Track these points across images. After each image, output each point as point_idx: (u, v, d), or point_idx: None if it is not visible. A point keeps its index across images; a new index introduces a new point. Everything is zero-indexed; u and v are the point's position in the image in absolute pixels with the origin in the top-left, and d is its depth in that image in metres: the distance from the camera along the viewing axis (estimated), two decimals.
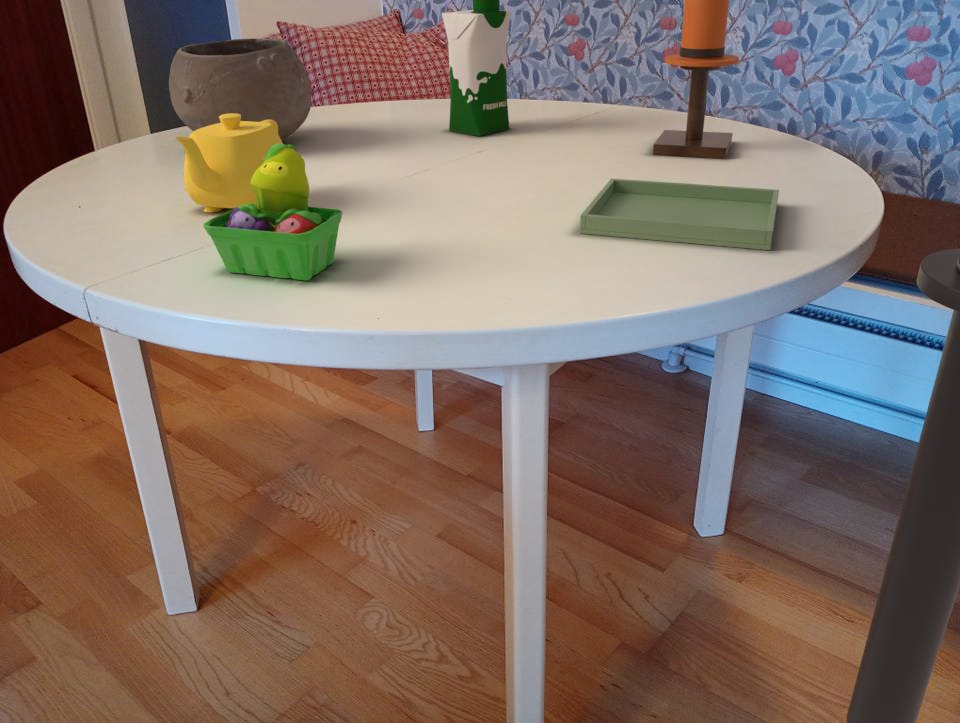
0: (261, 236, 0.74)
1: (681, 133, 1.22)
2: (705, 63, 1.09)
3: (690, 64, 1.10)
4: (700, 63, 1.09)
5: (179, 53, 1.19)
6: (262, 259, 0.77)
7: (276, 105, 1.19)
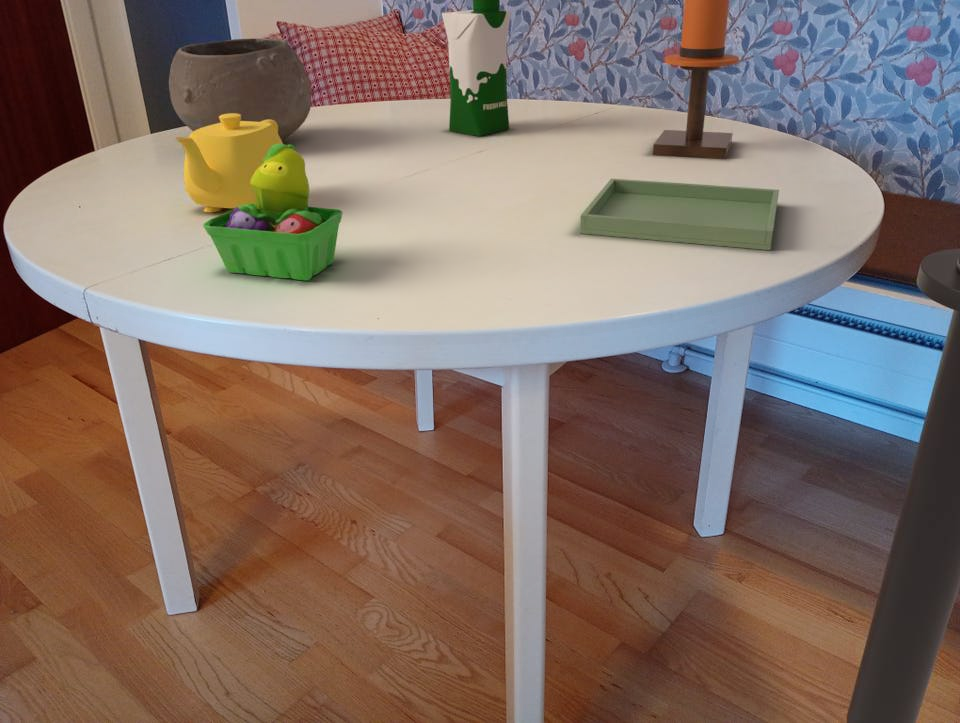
0: (261, 236, 0.74)
1: (681, 133, 1.22)
2: (705, 63, 1.09)
3: (690, 64, 1.10)
4: (700, 63, 1.09)
5: (179, 53, 1.19)
6: (262, 259, 0.77)
7: (276, 105, 1.19)
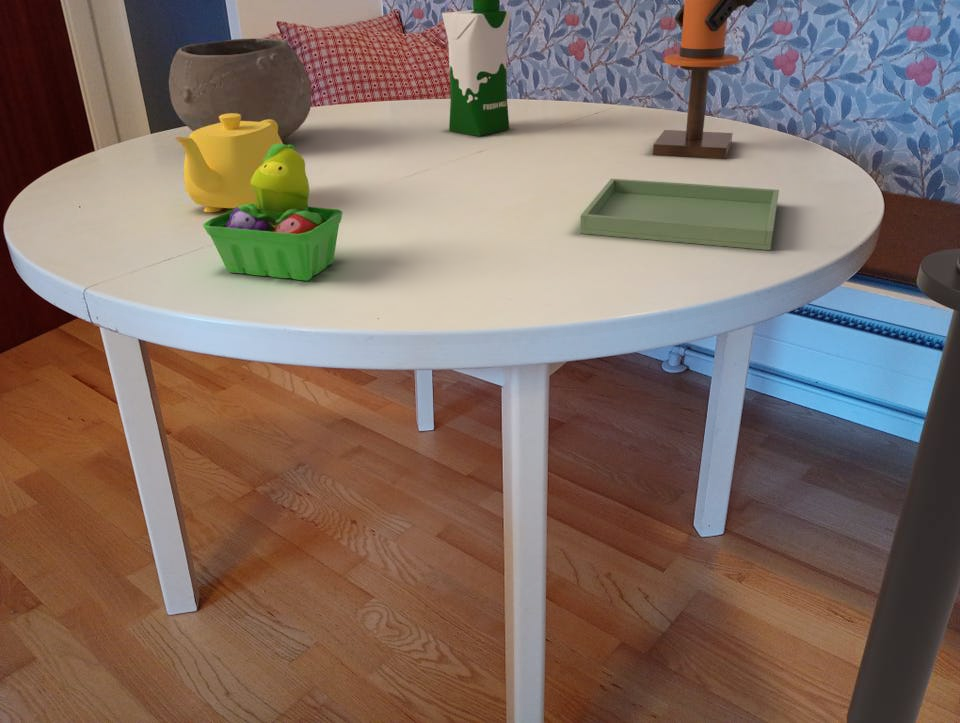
0: (261, 236, 0.74)
1: (681, 133, 1.22)
2: (705, 63, 1.09)
3: (690, 64, 1.10)
4: (700, 63, 1.09)
5: (179, 53, 1.19)
6: (262, 259, 0.77)
7: (276, 105, 1.19)
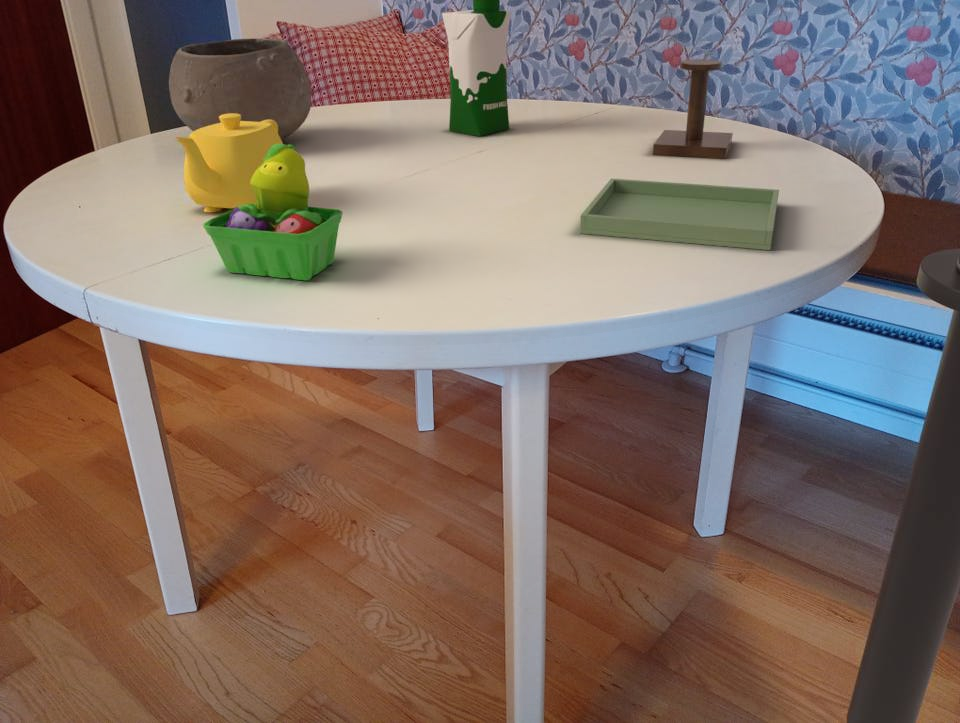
0: (261, 236, 0.74)
1: (681, 133, 1.22)
2: None
3: None
4: None
5: (179, 53, 1.19)
6: (262, 259, 0.77)
7: (276, 105, 1.19)
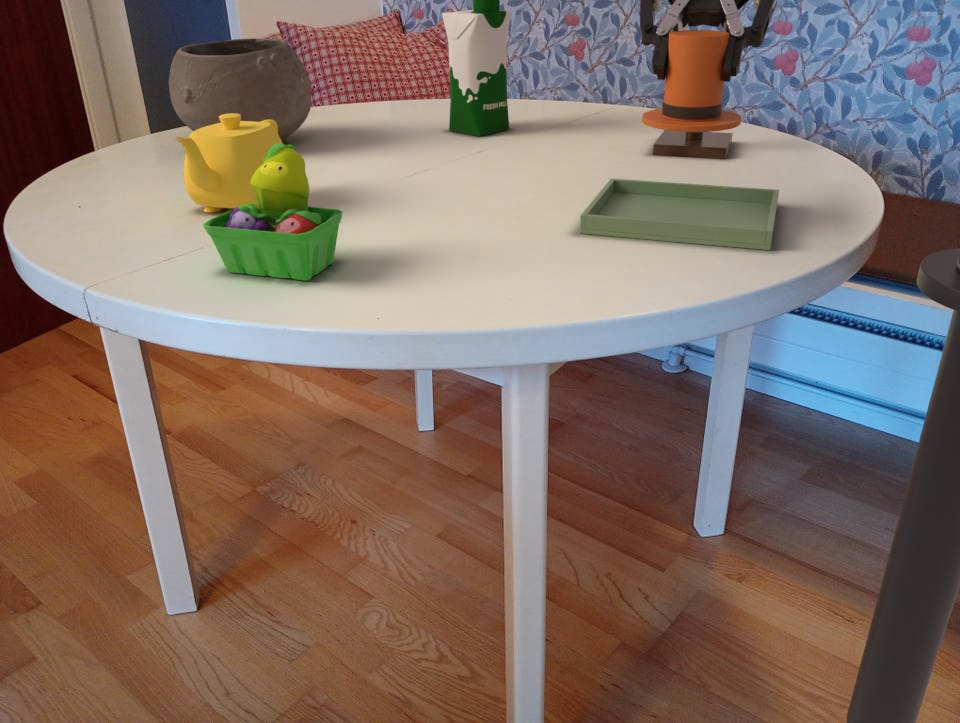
0: (261, 236, 0.74)
1: (681, 133, 1.22)
2: (730, 124, 0.81)
3: (715, 128, 0.81)
4: (726, 125, 0.81)
5: (179, 53, 1.19)
6: (262, 259, 0.77)
7: (276, 105, 1.19)
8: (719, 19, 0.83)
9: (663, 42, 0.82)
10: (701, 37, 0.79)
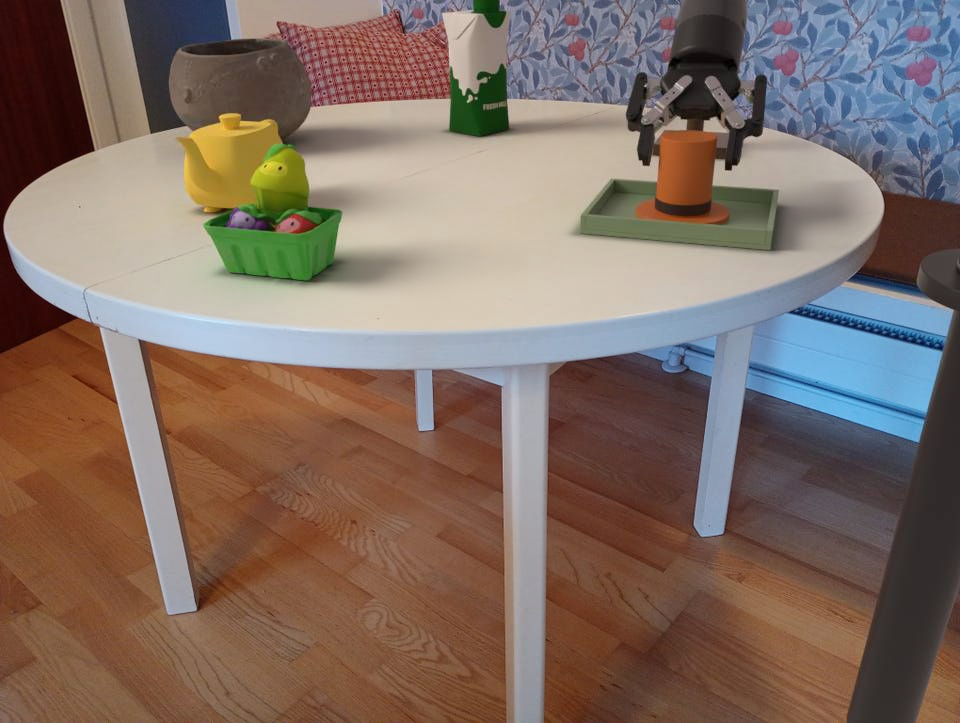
0: (261, 236, 0.74)
1: None
2: (719, 221, 0.86)
3: None
4: (715, 222, 0.86)
5: (179, 53, 1.19)
6: (262, 259, 0.77)
7: (276, 105, 1.19)
8: (709, 115, 0.87)
9: (647, 131, 0.87)
10: (691, 142, 0.83)
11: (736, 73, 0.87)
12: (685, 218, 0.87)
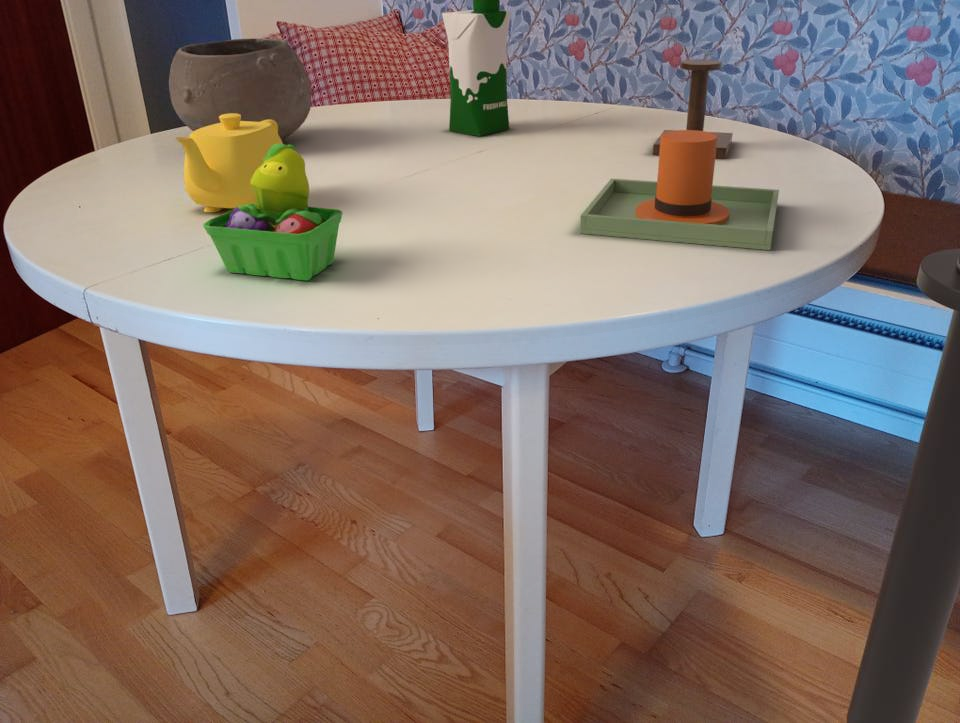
0: (261, 236, 0.74)
1: None
2: (719, 221, 0.86)
3: None
4: (715, 222, 0.86)
5: (179, 53, 1.19)
6: (262, 259, 0.77)
7: (276, 105, 1.19)
8: None
9: None
10: (691, 142, 0.83)
11: None
12: (685, 218, 0.87)
